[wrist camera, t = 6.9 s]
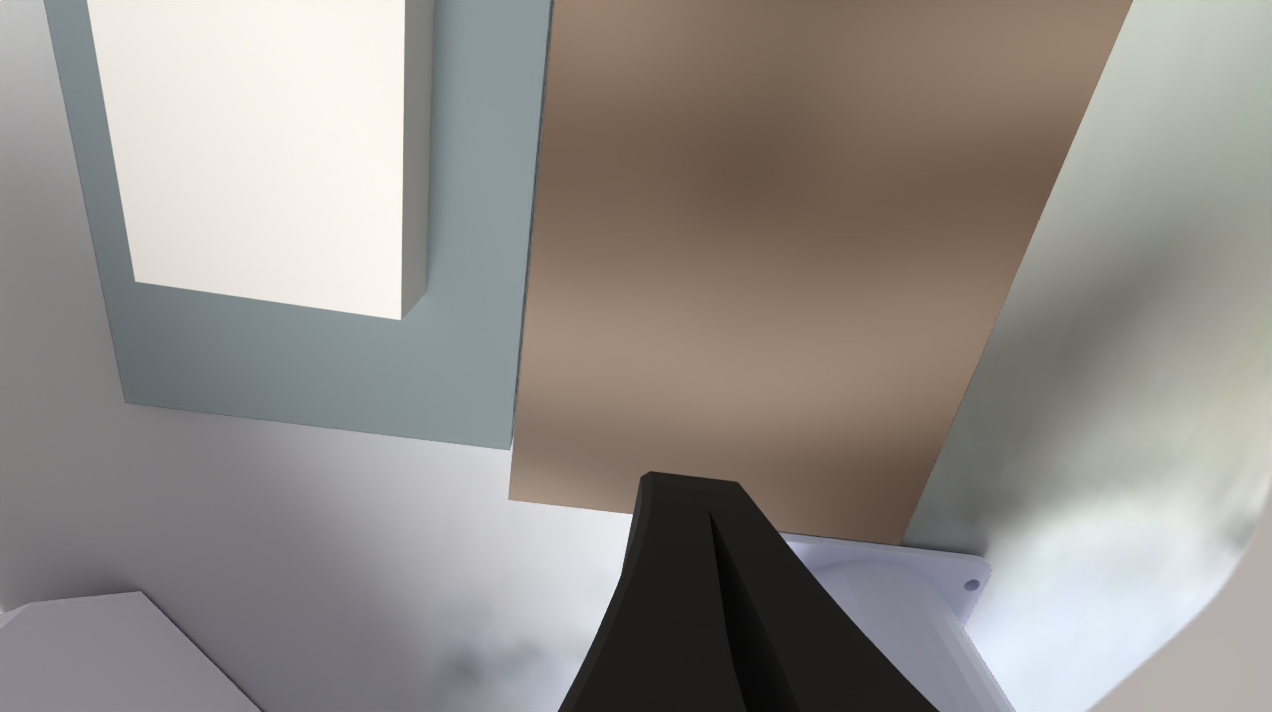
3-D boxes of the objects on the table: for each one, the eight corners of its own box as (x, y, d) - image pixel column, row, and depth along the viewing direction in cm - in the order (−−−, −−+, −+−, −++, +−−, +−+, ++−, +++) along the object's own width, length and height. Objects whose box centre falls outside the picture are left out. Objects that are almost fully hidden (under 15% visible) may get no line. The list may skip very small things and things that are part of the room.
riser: (846, 457, 19) (899, 545, 16) (531, 417, 18) (508, 499, 15) (1072, -174, 13) (1251, -278, 9) (604, -281, 12) (595, -443, 8)
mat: (511, 443, 19) (509, 450, 18) (135, 396, 18) (125, 402, 17) (585, -357, 12) (583, -372, 11) (-40, -505, 11) (-64, -526, 10)
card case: (135, 281, 14) (191, 258, 16) (401, 319, 14) (425, 293, 16) (49, -219, 10) (134, -174, 12) (406, -144, 11) (437, -111, 13)
